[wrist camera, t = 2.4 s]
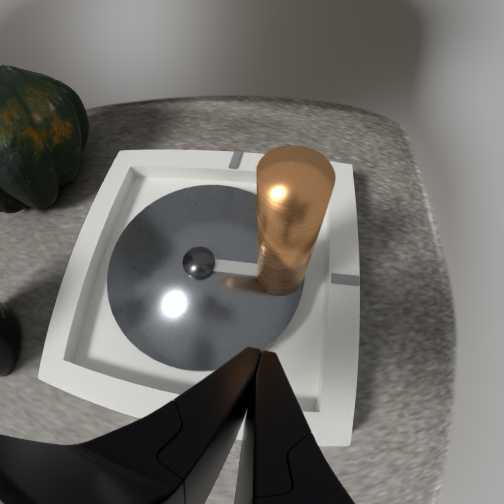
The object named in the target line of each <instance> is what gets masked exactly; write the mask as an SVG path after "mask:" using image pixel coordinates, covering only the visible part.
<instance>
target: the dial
mask: <svg viewBox="0 0 504 504" xmlns="http://www.w3.org/2000/svg"><path fill="white" fill-rule="evenodd" d="M335 181H336V176H335V171H334V169H333V166H332V165H331V163H330V162H329V161H328V160H327V159H326V158H325V157H324V156H323V155H321V154H320V153H318V152H317V151H314V150H312V149H310V148H306V147H302V146H294V145H291V146H282V147H278V148H275V149H273V150H270V151H269V152H267V153H266V154H265V155H264V156H263V157H262V158H261V159H260V161H259V163H258V165H257V170H256V182H257V195H255V194H254V193H251V192H249V191H246V190H243V189H240V188H236V187H231V186H224V185H199V186H193V187H188V188H184V189H180V190H177V191H174V192H172V193H169V194H167V195H165V196H163V197H161V198H159V199H157V200H156V201H154V202H152V203H151V204H150V205H148V206H147V207H145V208H144V209H143V210H142V211H141V212H140V213H138V214H137V215H136V216H135V217H134V218H133V219H132V221H131V222H130V223H129V224H128V225H127V227H126V228H125V229H124V231H123V232H122V234H121V235H120V237H119V239H118V241H117V242H116V245H115V247H114V249H113V252H112V255H111V258H110V262H109V266H108V273H107V293H108V300H109V304H110V308H111V311H112V314H113V316H114V318H115V320H116V323H117V324H118V326H119V328H120V329H121V331H122V332H123V334H124V335H125V336H126V337H127V339H128V340H129V341H130V342H131V343H132V344H133V345H134V346H135V347H136V348H138V349H139V350H140V351H141V352H143V353H144V354H146V355H147V356H149V357H150V358H152V359H154V360H156V361H158V362H160V363H163V364H165V365H168V366H170V367H174V368H177V369H181V370H186V371H194V372H212V371H215V370H216V369H218V368H219V367H221V366H222V365H223V364H225V363H226V362H228V361H229V360H230V359H232V358H233V357H234V356H236V355H237V354H238V353H240V352H241V351H242V350H244V349H245V348H246V347H253V348H257V349H260V350H261V352H262V351H263V350H266V349H268V348H269V347H270V346H271V345H272V344H273V343H274V342H276V340H277V339H278V338H279V337H280V336H281V335H282V333H283V332H284V331H285V330H286V328H287V326H288V325H289V323H290V322H291V320H292V318H293V316H294V314H295V312H296V309H297V307H298V305H299V302H300V299H301V295H302V292H303V287H304V280H305V273H306V270H307V267H308V264H309V261H310V258H311V256H312V253H313V250H314V247H315V244H316V241H317V238H318V235H319V232H320V229H321V226H322V223H323V220H324V217H325V214H326V211H327V207H328V204H329V201H330V198H331V195H332V192H333V188H334V185H335Z"/></svg>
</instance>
